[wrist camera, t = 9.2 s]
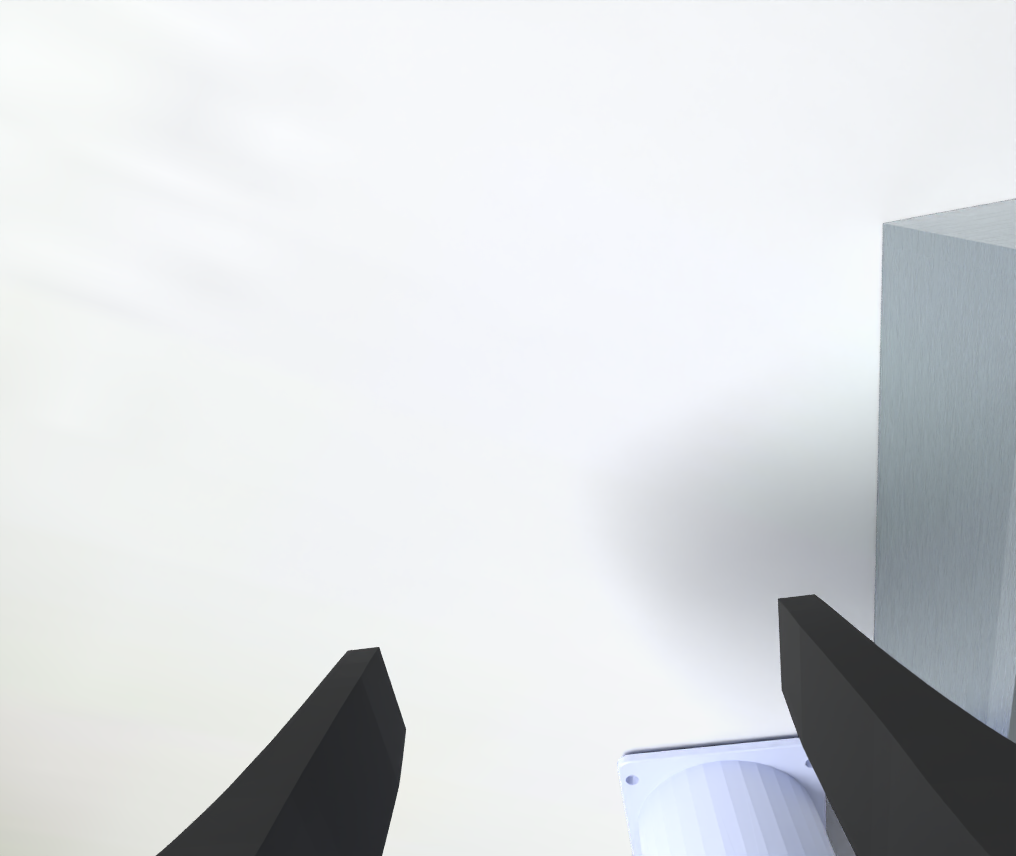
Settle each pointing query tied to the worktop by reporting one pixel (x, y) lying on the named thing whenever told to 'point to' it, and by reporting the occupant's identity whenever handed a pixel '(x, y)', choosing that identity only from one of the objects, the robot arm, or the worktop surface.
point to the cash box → (950, 457)
